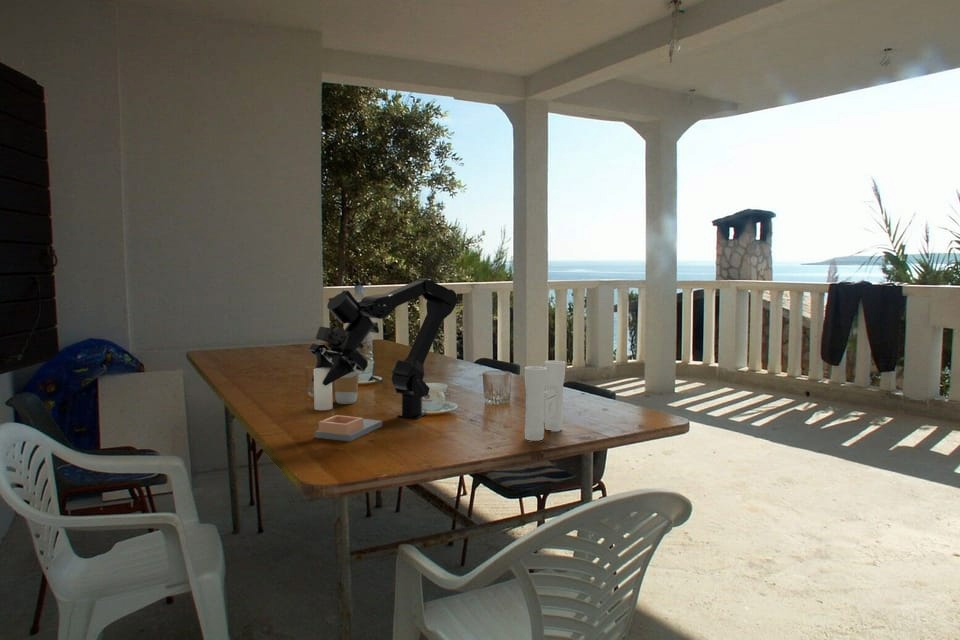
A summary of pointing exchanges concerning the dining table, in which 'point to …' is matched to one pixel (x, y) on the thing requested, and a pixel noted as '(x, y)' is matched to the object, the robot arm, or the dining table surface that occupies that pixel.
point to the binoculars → (544, 398)
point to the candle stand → (346, 427)
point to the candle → (322, 390)
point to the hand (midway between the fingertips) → (318, 383)
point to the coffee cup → (347, 387)
